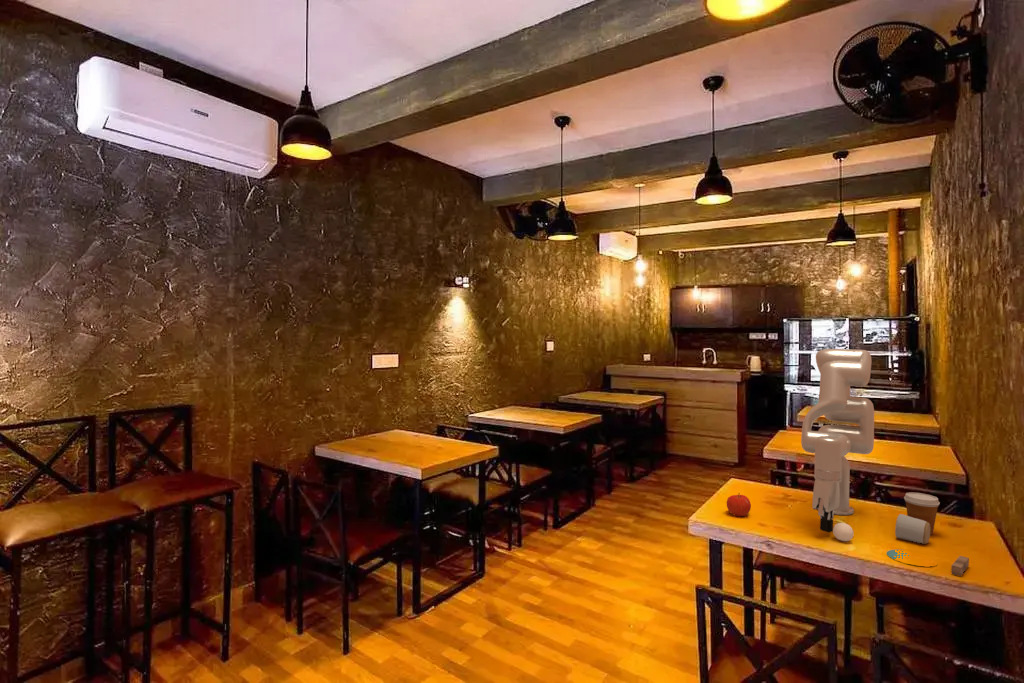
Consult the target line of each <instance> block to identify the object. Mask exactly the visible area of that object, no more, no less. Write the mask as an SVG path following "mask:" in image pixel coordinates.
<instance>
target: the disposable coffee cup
mask: <svg viewBox="0 0 1024 683" xmlns="http://www.w3.org/2000/svg"><path fill="white" fill-rule="evenodd" d="M903 499H904V501H905V507H906V516H910V517H913V518H916V519H920V520H924V521H926V522H928V523H929V524H930V536H933V535H934V530H935V523H936V517H937V513H938V508H939V506H940V503H941V502H940V501H939V498H938V497H937V496H934V495H931V494H929V493H928V494H926V493H921V492H906V493H905V496H903ZM932 534H933V535H932Z"/></svg>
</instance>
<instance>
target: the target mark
mask: <svg viewBox="0 0 1024 683" xmlns="http://www.w3.org/2000/svg"><path fill="white" fill-rule="evenodd" d="M895 550H897V551H898V550H899V549H890V550H887V551H886V556H887V555H888V556H889V558H890V557H891V558H892V560H893V559H896V558H897V556H899V557H898V558H900V554H899V555H897V554H898V553H897V552H895ZM902 552H903V551H902ZM899 553H900V552H899ZM901 554H902V555H901V556H902V559H903V554H904V553H901ZM905 554H907V553H905ZM888 556H887V557H888ZM894 556H896V557H894ZM904 556H906V555H904ZM908 556H909V555H908ZM891 558H890V559H891Z"/></svg>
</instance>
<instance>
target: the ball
mask: <svg viewBox="0 0 1024 683" xmlns="http://www.w3.org/2000/svg"><path fill="white" fill-rule="evenodd" d="M832 532H833V535H834V537H835V538H836V539H837V540H839V541H841V542H849V541H851V540H852V539H853V537H854V530H853V528H852V527H851V525H849V524H848V523H846V522H837V523H835V524H834V525H833V531H832Z"/></svg>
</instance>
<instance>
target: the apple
mask: <svg viewBox="0 0 1024 683" xmlns="http://www.w3.org/2000/svg"><path fill="white" fill-rule="evenodd" d="M726 507H727V510H728V511H729V513H730V514H732V515H734V516H737V517H744V516H746V515H748V514H749V513H750V511H751V508H752V505H751V500H750V499H749V498H748V497H747V496H746V495H745V494H744V495H743V494H740V492H738V494H733V495H732V494H731V495H730V496H729V497H728V498H727V499H726Z"/></svg>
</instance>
